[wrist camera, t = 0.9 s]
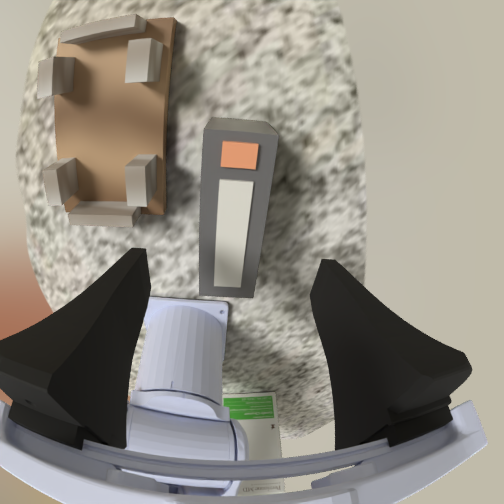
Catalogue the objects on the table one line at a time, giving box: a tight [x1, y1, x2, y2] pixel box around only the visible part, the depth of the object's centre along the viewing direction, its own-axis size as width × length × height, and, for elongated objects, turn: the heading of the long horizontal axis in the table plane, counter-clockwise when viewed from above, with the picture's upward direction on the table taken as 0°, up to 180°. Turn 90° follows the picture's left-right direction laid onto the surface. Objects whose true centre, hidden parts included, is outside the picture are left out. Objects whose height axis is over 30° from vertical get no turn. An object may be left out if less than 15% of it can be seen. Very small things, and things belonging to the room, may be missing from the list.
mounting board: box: [37, 14, 177, 227], centre depth 13 cm, size 13×8×4 cm, turn 173°
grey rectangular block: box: [199, 117, 279, 298], centre depth 16 cm, size 10×3×5 cm, turn 174°
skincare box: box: [222, 392, 285, 496], centre depth 30 cm, size 8×7×16 cm
